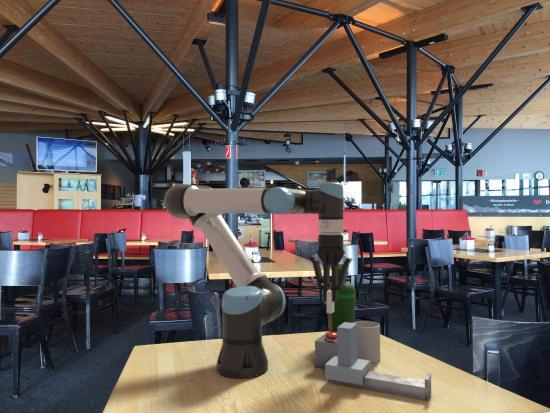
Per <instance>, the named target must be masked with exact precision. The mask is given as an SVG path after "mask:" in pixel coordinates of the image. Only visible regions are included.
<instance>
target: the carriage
mask: <svg viewBox="0 0 550 413" xmlns="http://www.w3.org/2000/svg"><path fill="white" fill-rule="evenodd" d="M337 340H338V356H334V357H333V358H332V359H331V360H329V361H328V362H327V363H326V364H325V370H324V372H325V373H324V374H325V379H326V380H327V379H331V380H337V381H342V382H348V383H354V384H359V385H362V384H363V376H364V375H365V374H366V372H367V371H371V364H370V361H369V360H362V359H357V323H348V322H344V323H343V324H341V325H340V326H338V327H337Z"/></svg>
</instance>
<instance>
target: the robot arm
mask: <svg viewBox="0 0 550 413" xmlns="http://www.w3.org/2000/svg"><path fill="white" fill-rule="evenodd" d="M344 199H345V196H344V186H343V184H342V183H340V182H331V181H330V182H328V181H327V182H320V183H319V184H318V187H317V189H297V188H296V189H295V188H288V187H284V186H274V187H249V188H248V187H240V188H232V187H231V188H212V187H210V186H208V185H202V184H200V185H196V184H187V183H179V184H178V183H177V184H175V185H173V186H171V187H170V188H169V189H168V190H167V191H166V193H165V195H164V200H163V204H164V207H165V209H166V211H167V213H168V214H169V215H171V216H172V217H174V218H177V219H182V220H183V219H185V220H186V219H188V220H189V221H190V223H191V225H192V226H193V228H194V229H195V230H200V231H201V232H202V233H203V234H202V235H204V237H205V239H206V240H207V242H208V243H209V246H210V247H211V248H212V249H213V251H214V253H215V254H216V256H217V258H218V259H219V261H220V263H221V264H222V266H223V267H224V269H225V270H226V272H227V274H228V275H229V277H230V279H231V280H232V282H233V284H234V285H235V287H233V288H232V287H231V288H229V289H227V290H226V291H225V292H224V293H223V295H222V302H221V310H222V312H221V314H222V316H221V317H222V318H221V319H222V320H221V321H222V325H221V327H222V329H221V330H222V333H221V334H222V342H221V343H222V344H221V348H220V350H219V354H218V357H217V360H216V372H217V373H218V374H219V375H220V376H221V375H222V376H223V377H227V378H233V379H246V378H247V379H248V378H253V377H257V376H260V375H263V374H265V373H266V372H267V371H268V369H269V361H268V357H267V354H266V351H265V348H264V345H263V331H262V330H263V328H262V327H263V326H264V325H266V324H268V323H270V322H273V321H275V320H276V319H278V318H279V317H280V316H281V315H282V314H283V313H284V311H285V308H286V303H287V301H286V296H285V293H284V291H283V289H282V288H281V287H280V286H279V285H277V284H275V283H272V282H271V281H270V279H269V277H267V275H266V274H264V273H260V272H259V271H258V269H257V267H255V265H254V264H253V262H252V260H251V258H250V257H249V256H248V254H247V252H246V251H245V249H244V248H243V246H242V245H241V244H240V242H239V240H238V239H237V238H236V236H235V234H234V232H233V231H232V230H231V228H230V227H229V224H227V222H226V221H225V219H224V218H223V215H224V214H256V215H257V214H262V215H263V214H264V215H265V214H267V215H318V223H317V224H318V231H317V232H318V233H320V234H318V235H317V238H318V241H317V244H318V245H317V247H318V249H317V251H316V253H315V254H314V255H311V256H310V257H309V259H310V262H311V263H312V266H313V271H314V275H315V280H316V286H317V287H318V289H322V290H323V300H324V302H326V314H328V313H333V312H334V302H336V301H337V291H338V290H340V289H342V288H343V287H344V284H345V279H346V280H347V278H346V275H348V274H347V271H348V272H349V266H350V264H351V263H352V262H353V258H352V257H349V256H348V255H347V254H346V253H345V250H344V235H343V233H344V202H345V200H344ZM320 261H321V262H322V268H323V271H322V268H321V264H320ZM341 261H342V263H343V265H342V269H341V274H340V278H339V282H338V266H339V263H341ZM322 272H323V273H322ZM330 281H331V282H330ZM330 283H331V287H330ZM330 288H331V290H329V289H330Z"/></svg>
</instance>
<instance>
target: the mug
mask: <svg viewBox="0 0 550 413" xmlns="http://www.w3.org/2000/svg"><path fill="white" fill-rule="evenodd" d="M354 323H357V359H362V360H369V361H370V365H374V364H377V363H379V362H380V361H381V325H380V323H378V322H376V321H370V320H359V321H355V322H354Z"/></svg>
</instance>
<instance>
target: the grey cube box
mask: <svg viewBox="0 0 550 413" xmlns="http://www.w3.org/2000/svg"><path fill="white" fill-rule="evenodd" d="M334 356H338V340H337V342H334V341H327V337H326V333H324V334H322V335H321V336H320V337H319V338H317V339H316V340H314V364H315V365H314V369H318V370H324V371H325V364H326V363H327V362H328V361H329V360H331V359H332V358H333V357H334Z"/></svg>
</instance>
